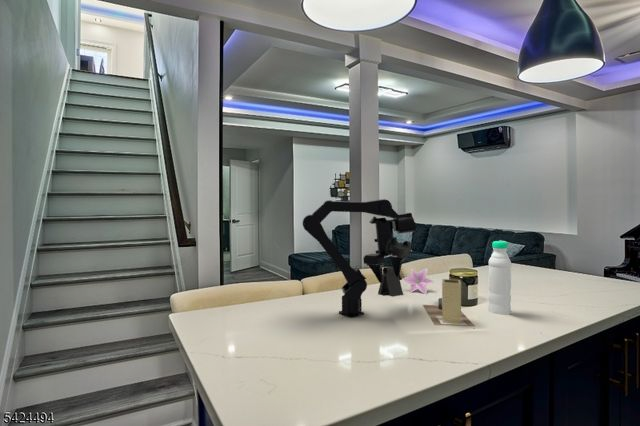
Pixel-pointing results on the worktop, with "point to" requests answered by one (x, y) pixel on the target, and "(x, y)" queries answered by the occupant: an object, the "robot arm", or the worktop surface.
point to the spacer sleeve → (451, 301)
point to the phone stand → (390, 283)
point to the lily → (418, 280)
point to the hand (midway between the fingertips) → (389, 279)
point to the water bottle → (499, 279)
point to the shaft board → (436, 315)
